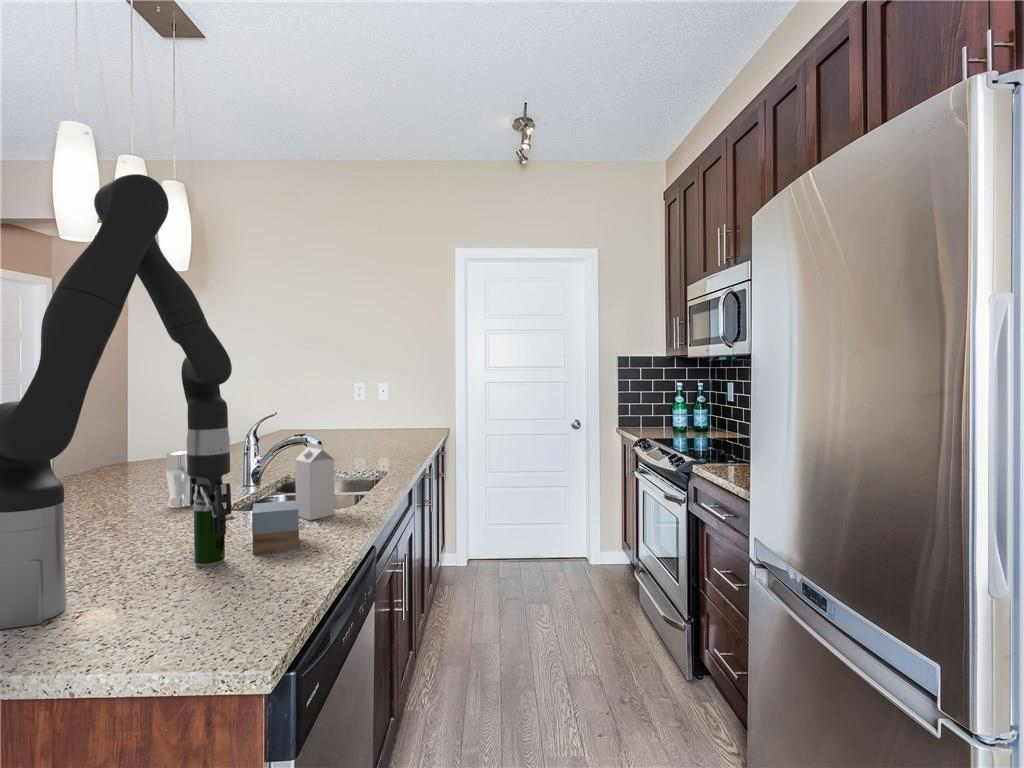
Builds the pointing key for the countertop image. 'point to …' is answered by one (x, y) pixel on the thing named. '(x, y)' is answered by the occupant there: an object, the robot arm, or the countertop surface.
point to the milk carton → (315, 483)
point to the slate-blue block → (275, 517)
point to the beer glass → (178, 479)
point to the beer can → (206, 539)
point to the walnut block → (275, 542)
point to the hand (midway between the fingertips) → (210, 531)
